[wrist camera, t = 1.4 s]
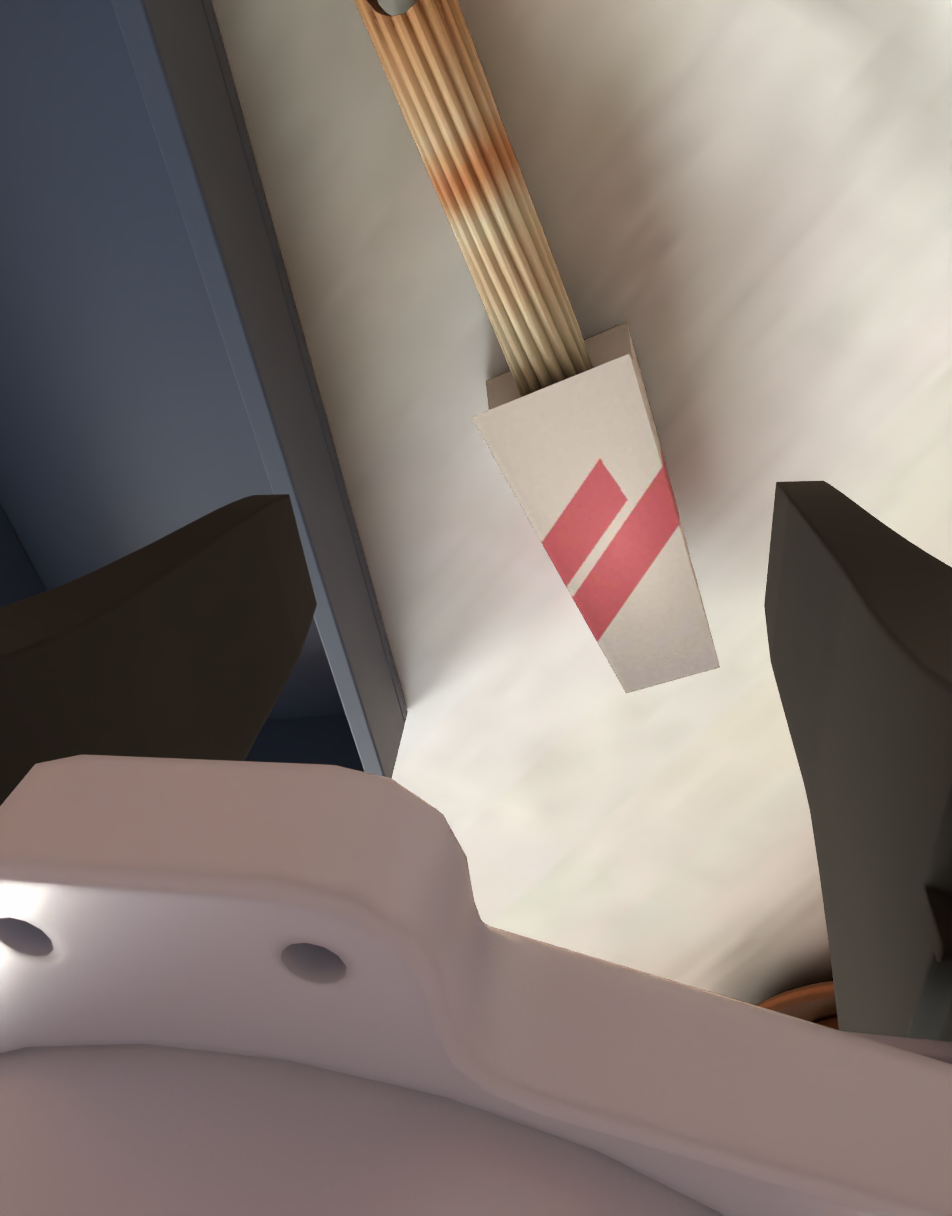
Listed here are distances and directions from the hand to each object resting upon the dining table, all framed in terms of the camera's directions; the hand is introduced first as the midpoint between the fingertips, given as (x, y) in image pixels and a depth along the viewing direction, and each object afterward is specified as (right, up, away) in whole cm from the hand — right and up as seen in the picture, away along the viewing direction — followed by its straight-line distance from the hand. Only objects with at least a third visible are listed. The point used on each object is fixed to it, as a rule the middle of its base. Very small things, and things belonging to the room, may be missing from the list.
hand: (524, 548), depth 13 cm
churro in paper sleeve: (+1, +6, +9) cm, 11 cm away
